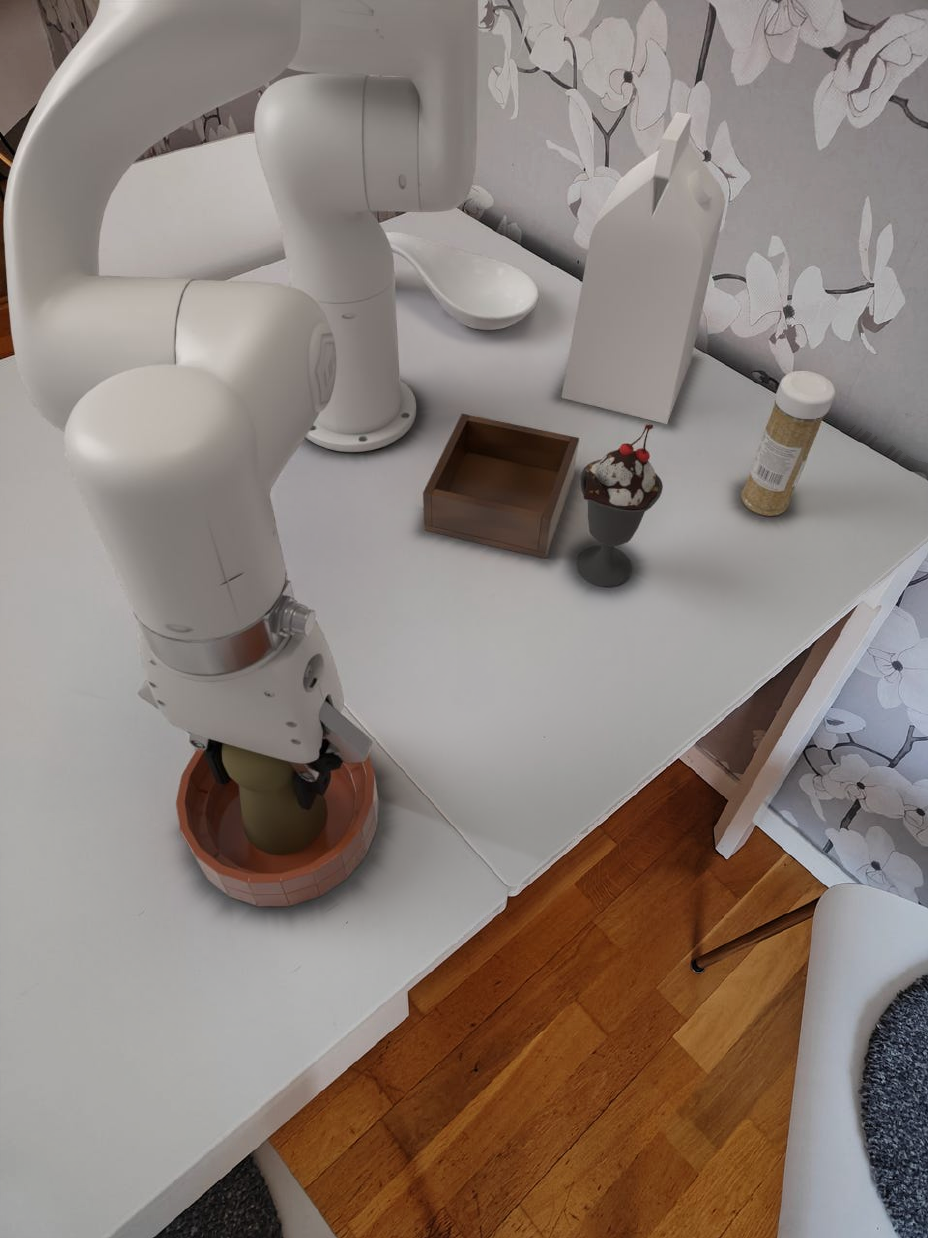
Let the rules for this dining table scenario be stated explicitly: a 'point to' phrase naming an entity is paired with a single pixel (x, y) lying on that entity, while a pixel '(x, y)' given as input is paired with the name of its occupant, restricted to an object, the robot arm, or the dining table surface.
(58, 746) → the dining table surface
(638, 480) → the sundae
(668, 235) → the milk
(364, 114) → the robot arm
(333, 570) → the dining table surface
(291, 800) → the olive brown knobbed cylinder
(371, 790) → the bowl
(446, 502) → the holder
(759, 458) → the sprinkles bottle
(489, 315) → the spoon rest
